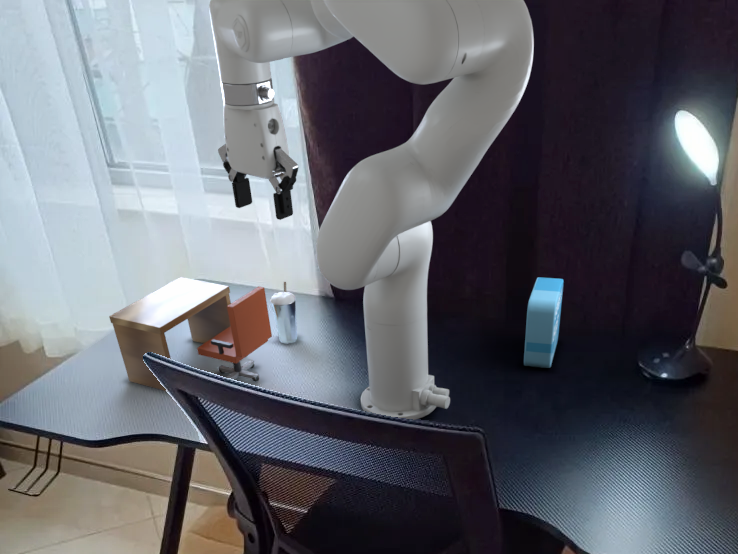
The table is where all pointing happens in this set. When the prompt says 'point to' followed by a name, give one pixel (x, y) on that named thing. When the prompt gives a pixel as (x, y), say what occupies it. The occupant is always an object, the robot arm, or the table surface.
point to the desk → (168, 322)
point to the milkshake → (285, 315)
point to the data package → (543, 322)
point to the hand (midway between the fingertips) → (264, 211)
